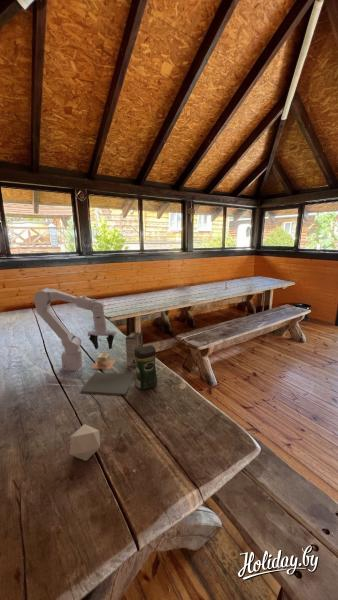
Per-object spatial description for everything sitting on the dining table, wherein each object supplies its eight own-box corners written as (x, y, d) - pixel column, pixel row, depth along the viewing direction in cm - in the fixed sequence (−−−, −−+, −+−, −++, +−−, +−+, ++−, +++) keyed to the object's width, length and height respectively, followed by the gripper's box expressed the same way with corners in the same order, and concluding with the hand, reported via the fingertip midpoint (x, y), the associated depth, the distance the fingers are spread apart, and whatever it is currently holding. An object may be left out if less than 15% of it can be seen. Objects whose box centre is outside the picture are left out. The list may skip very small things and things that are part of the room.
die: (82, 440, 81) (62, 429, 75) (106, 427, 81) (87, 415, 75) (82, 468, 75) (60, 459, 69) (108, 454, 74) (87, 443, 68)
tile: (91, 369, 126) (91, 368, 126) (98, 360, 136) (98, 359, 136) (109, 370, 125) (109, 369, 125) (116, 361, 135) (116, 360, 135)
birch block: (97, 366, 128) (97, 357, 127) (101, 361, 133) (100, 353, 132) (106, 366, 128) (106, 357, 127) (110, 362, 133) (109, 353, 131)
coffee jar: (151, 377, 118) (151, 341, 114) (159, 385, 111) (159, 347, 107) (133, 383, 113) (131, 346, 109) (139, 392, 107) (138, 352, 102)
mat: (80, 392, 106) (80, 390, 106) (95, 373, 122) (95, 372, 122) (125, 395, 104) (125, 393, 104) (134, 375, 120) (134, 374, 120)
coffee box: (132, 358, 138) (131, 331, 134) (143, 359, 137) (142, 332, 133) (126, 366, 129) (125, 337, 125) (138, 367, 128) (137, 338, 124)
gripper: (116, 321, 128) (119, 345, 131) (90, 321, 130) (94, 345, 133) (111, 325, 121) (114, 351, 124) (84, 326, 124) (88, 350, 127)
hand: (103, 348), depth 128 cm, fingers open, 7 cm apart
